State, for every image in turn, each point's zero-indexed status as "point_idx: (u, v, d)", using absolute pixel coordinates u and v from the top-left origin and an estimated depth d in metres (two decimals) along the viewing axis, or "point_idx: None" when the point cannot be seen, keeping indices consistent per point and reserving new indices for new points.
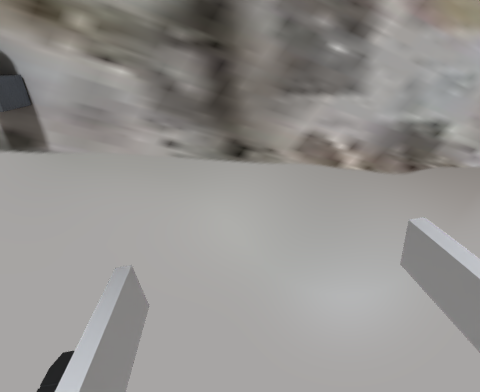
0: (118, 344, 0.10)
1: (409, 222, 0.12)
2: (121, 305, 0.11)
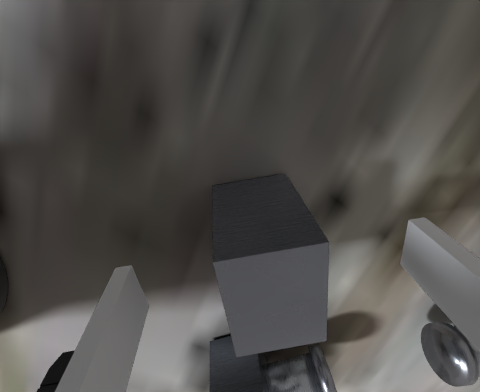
0: (118, 344, 0.10)
1: (409, 222, 0.12)
2: (121, 305, 0.11)
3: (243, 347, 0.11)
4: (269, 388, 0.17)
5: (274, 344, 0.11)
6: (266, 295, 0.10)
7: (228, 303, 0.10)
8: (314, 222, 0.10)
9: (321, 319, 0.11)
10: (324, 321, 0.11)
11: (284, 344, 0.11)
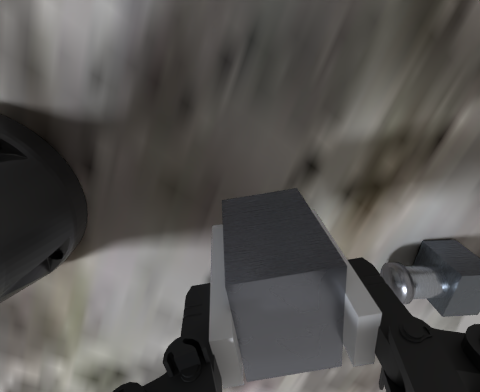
0: None
1: None
2: None
3: (254, 372, 0.11)
4: None
5: (286, 369, 0.11)
6: (280, 319, 0.09)
7: (239, 327, 0.09)
8: (330, 243, 0.10)
9: (336, 343, 0.10)
10: (340, 346, 0.10)
11: (296, 369, 0.11)
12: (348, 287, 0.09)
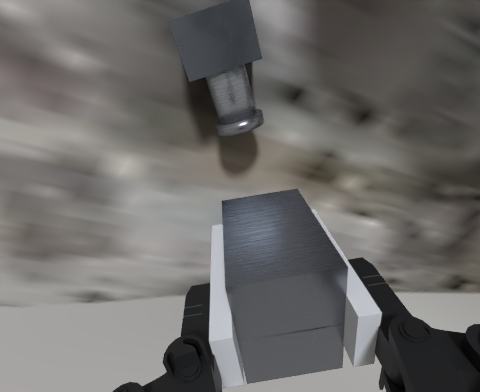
0: None
1: None
2: None
3: (254, 373, 0.11)
4: (244, 67, 0.19)
5: (286, 370, 0.11)
6: (280, 321, 0.09)
7: (240, 329, 0.09)
8: (330, 244, 0.10)
9: (337, 345, 0.10)
10: (340, 347, 0.10)
11: (297, 371, 0.11)
12: (348, 287, 0.09)
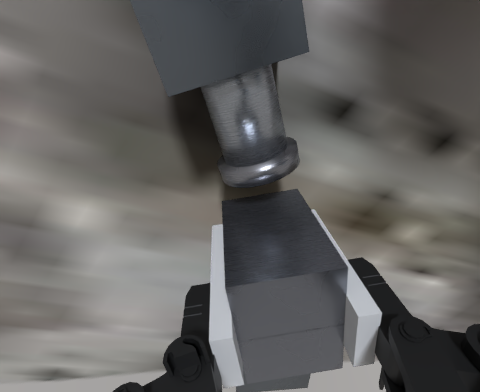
0: None
1: None
2: None
3: (254, 374, 0.11)
4: (270, 68, 0.10)
5: (286, 371, 0.11)
6: (280, 321, 0.09)
7: (240, 329, 0.09)
8: (331, 244, 0.10)
9: (337, 345, 0.10)
10: (340, 348, 0.10)
11: (297, 371, 0.11)
12: (348, 287, 0.09)
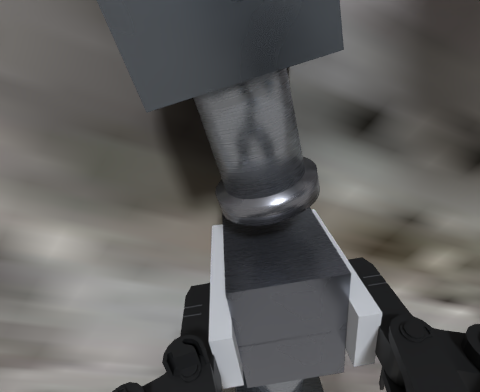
0: None
1: None
2: None
3: (255, 378, 0.11)
4: (286, 72, 0.08)
5: (287, 375, 0.11)
6: (281, 327, 0.09)
7: (240, 335, 0.09)
8: (333, 248, 0.09)
9: (339, 350, 0.10)
10: (342, 353, 0.10)
11: (298, 375, 0.11)
12: None
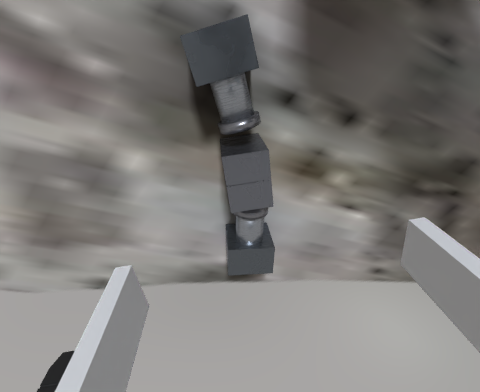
0: (118, 344, 0.10)
1: (409, 222, 0.12)
2: (121, 305, 0.11)
3: (234, 206, 0.24)
4: (243, 74, 0.22)
5: (248, 206, 0.24)
6: (243, 176, 0.23)
7: (227, 179, 0.23)
8: (265, 145, 0.23)
9: (269, 192, 0.24)
10: (271, 193, 0.24)
11: (253, 206, 0.24)
12: None
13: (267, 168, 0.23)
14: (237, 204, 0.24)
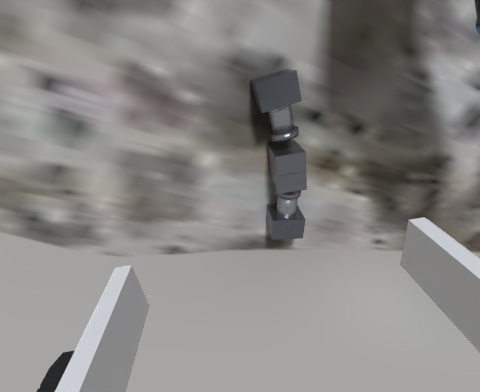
0: (118, 344, 0.10)
1: (409, 222, 0.12)
2: (121, 305, 0.11)
3: (280, 189, 0.37)
4: None
5: (290, 189, 0.37)
6: (288, 169, 0.35)
7: (277, 171, 0.35)
8: (302, 149, 0.35)
9: (304, 179, 0.36)
10: (305, 180, 0.36)
11: (293, 189, 0.37)
12: None
13: (304, 163, 0.35)
14: (283, 188, 0.37)
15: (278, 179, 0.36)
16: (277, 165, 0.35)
